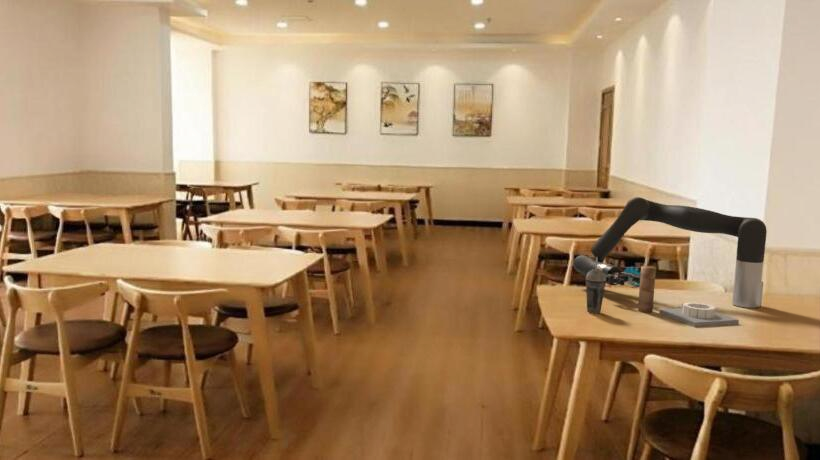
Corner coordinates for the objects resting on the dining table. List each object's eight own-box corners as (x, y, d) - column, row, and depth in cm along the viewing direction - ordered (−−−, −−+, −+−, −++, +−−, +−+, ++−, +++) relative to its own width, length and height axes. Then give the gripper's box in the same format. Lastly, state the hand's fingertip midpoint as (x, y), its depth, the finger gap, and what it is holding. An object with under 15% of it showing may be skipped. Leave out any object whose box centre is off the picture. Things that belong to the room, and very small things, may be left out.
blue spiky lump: (629, 283, 283) (623, 264, 290) (622, 291, 288) (615, 271, 294) (651, 286, 287) (645, 267, 293) (644, 293, 291) (637, 274, 297)
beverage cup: (605, 311, 241) (609, 256, 239) (602, 315, 235) (606, 259, 232) (585, 308, 244) (588, 254, 242) (581, 313, 238) (584, 257, 235)
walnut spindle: (646, 309, 247) (649, 265, 245) (655, 312, 242) (658, 268, 240) (634, 309, 245) (638, 266, 243) (643, 313, 241) (647, 268, 238)
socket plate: (700, 311, 246) (702, 298, 246) (738, 324, 229) (739, 311, 229) (659, 313, 241) (660, 301, 240) (694, 327, 224) (695, 313, 223)
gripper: (593, 265, 263) (617, 272, 247) (624, 263, 267) (650, 271, 252) (592, 283, 264) (616, 293, 248) (623, 282, 268) (649, 291, 253)
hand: (633, 282), depth 250 cm, fingers open, 8 cm apart
